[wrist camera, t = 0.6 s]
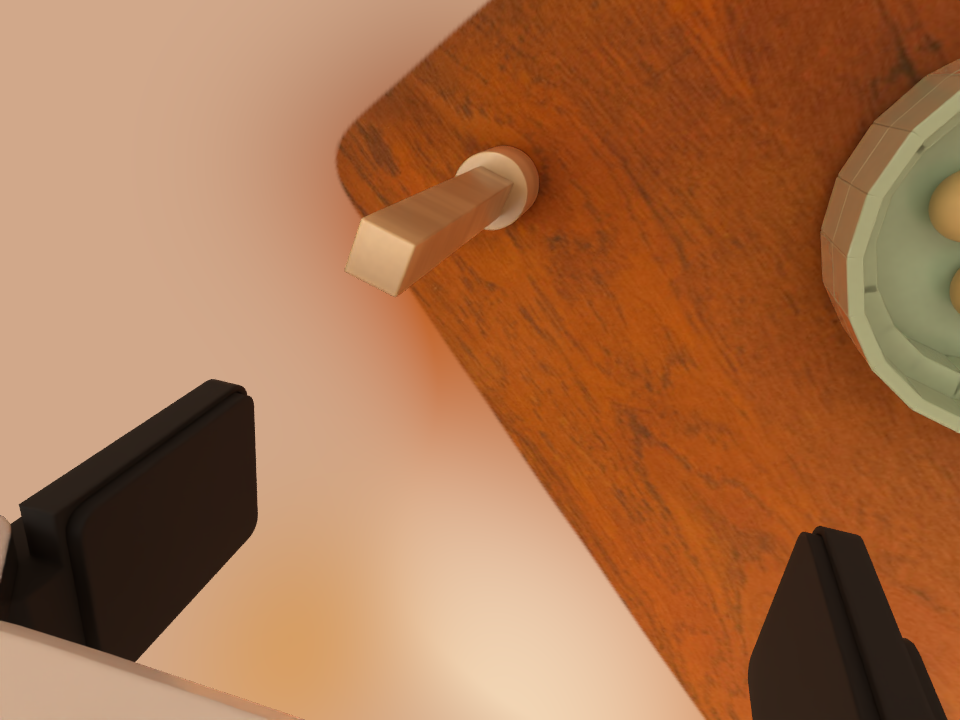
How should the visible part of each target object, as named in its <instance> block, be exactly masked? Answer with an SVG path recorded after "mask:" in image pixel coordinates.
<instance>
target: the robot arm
mask: <svg viewBox="0 0 960 720" xmlns="http://www.w3.org/2000/svg"><path fill="white" fill-rule="evenodd" d="M256 481H257V479H256V452H255V422H254V403H253V399H252V398H251V397H250V396H247V392H246V390H245V388H244V387H242V386H240V385H236V384H232V383H227V382H223V381H219V380H215V379H211V380H208V381H206V382H205V383H203V384H202V385H200V386H198V387H197V388H195V389H194V390H192V391H191V392H189V393H188V394H186V395H185V396H183V397H182V398H180V399H179V400H177V401H176V402H174V403H173V404H171V405H170V406H168V407H167V408H165V409H163V410H162V411H160V412H159V413H158V414H156V415H154V416H153V417H151V418H150V419H148V420H147V421H145V422H144V423H142V424H141V425H139V426H138V427H136V428H135V429H133V430H132V431H130V432H128V433H127V434H125V435H124V436H122V437H121V438H119V439H118V440H116V441H115V442H113V443H112V444H110V445H109V446H107V447H106V448H104V449H103V450H101V451H100V452H98V453H97V454H95V455H93V456H92V457H90V458H89V459H87V460H86V461H84V462H83V463H81V464H80V465H78V466H77V467H75V468H74V469H72V470H71V471H69V472H68V473H66V474H65V475H63V476H62V477H60V478H58V479H57V480H55V481H54V482H52V483H51V484H50V485H48V486H46V487H45V488H43V489H42V490H40V491H39V492H37V493H36V494H34V495H33V496H31V497H30V498H28V499H27V500H25V501H24V502H22V503H21V504H19V507H20V511H21V516H22V517H20V518H19V519H17V520H16V521H14V522H13V523H12V524H10V523H9V522H8V521H7V520H6V518H5V517H4V516H1V515H0V720H304V719H301V718H298V717H295V716H293V715H290V714H287V713H284V712H280V711H278V710H275V709H272V708H269V707H266V706H263V705H260V704H257V703H254V702H251V701H249V700H245V699H243V698H240V697H237V696H233V695H231V694H228V693H225V692H221V691H219V690H216V689H213V688H210V687H207V686H204V685H201V684H198V683H195V682H192V681H189V680H186V679H183V678H180V677H177V676H174V675H171V674H168V673H165V672H162V671H159V670H156V669H153V668H150V667H147V666H144V665H141V664H138V663H135V661H137V659H138V658H139V657H140V656H141V655H142V654H143V653H144V652H145V651H146V650H147V649H148V647H149V646H150V645H151V644H152V643H153V642H154V641H155V640H156V639H157V638H158V637H159V635H160V634H161V633H162V632H163V631H164V630H165V629H166V628H167V627H168V626H169V625H170V623H171V622H172V621H173V620H174V619H175V618H176V617H177V616H178V614H180V613H181V611H182V610H183V609H184V608H185V607H186V606H187V605H188V604H189V603H190V602H191V601H192V599H193V598H194V597H195V596H196V595H197V594H198V593H199V592H200V591H201V589H203V587H204V586H205V585H206V584H207V583H208V582H209V581H210V580H211V578H213V577H214V575H215V574H216V573H217V572H218V571H219V570H220V569H221V568H222V567H223V565H225V563H226V562H227V561H228V560H229V559H230V558H231V557H232V556H233V555H234V554H235V553H236V551H237V550H238V549H239V548H240V547H241V546H242V545H243V544H244V543H245V542H246V541H247V539H248V538H249V537H250V536H251V534H252V533H253V531H254V529H255V527H256V523H257V518H258V512H257V511H258V508H257V483H256ZM748 684H749V693H750V701H751V709H752V717H753V720H947V718H946V715H945V713H944V710H943V708H942V706H941V703H940V701H939V699H938V696H937V694H936V692H935V689H934V687H933V684H932V682H931V680H930V677H929V675H928V673H927V670H926V668H925V665H924V663H923V661H922V658H921V656H920V654H919V652H918V650H917V648H916V647H915V645H914V644H913V643H912V642H911V641H909V640H908V639H906V638H902V636H901V633H900V631H899V628H898V626H897V623H896V621H895V618H894V616H893V613H892V611H891V608H890V606H889V604H888V601H887V599H886V596H885V594H884V591H883V589H882V586H881V584H880V581H879V579H878V576H877V574H876V571H875V569H874V566H873V564H872V561H871V559H870V557H869V554H868V552H867V549H866V547H865V544H864V542H863V540H862V538H861V537H860V536H858V535H856V534H851V533H847V532H843V531H839V530H835V529H831V528H827V527H822V526H818V527H816V528H815V530H814V531H813V533H812V534H811V533H807V532H802V533H801V534H800V535H799V537H798V539H797V541H796V544H795V546H794V549H793V551H792V554H791V556H790V559H789V562H788V564H787V567H786V569H785V572H784V574H783V577H782V579H781V582H780V584H779V587H778V589H777V592H776V594H775V597H774V599H773V602H772V604H771V607H770V609H769V612H768V614H767V617H766V620H765V622H764V625H763V627H762V630H761V632H760V635H759V637H758V640H757V642H756V645H755V647H754V650H753V652H752V655H751V658H750V662H749V669H748Z"/></svg>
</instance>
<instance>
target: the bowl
mask: <svg viewBox="0 0 960 720" xmlns="http://www.w3.org/2000/svg"><path fill="white" fill-rule="evenodd" d="M957 171H960V59H958V60H956V61H954V62H952V63H950V64H948V65H946V66H944V67H942V68H940V69H938V70H936V71H934V72H932V73H930V74H928V76H925V77H924V78H923V79H922V80H921V81H919V82H918V83H917V84H916V85H915V86H914V87H913V88H911V89H910V90H909V91H908V92H907V93H906V94H904V95H903V96H902V97H901V98H900V99H899V100H898V101H896V102H895V103H894V104H893V105H892V106H891V107H890V108H888V109H887V110H886V111H885V112H884V113H883V114H882V115H880V116H879V117H878V118H877V119H876V120H875V121H874V122H873V124H872V125H871V126H870V127H869V129H868V130H867V132H866V133H865V135H864V136H863V138H862V139H861V141H860V142H859V144H858V145H857V147H856V148H855V150H854V151H853V153H852V154H851V156H850V157H849V159H848V160H847V162H846V163H845V165H844V166H843V168H842V169H841V171H840V172H839V174H838V177H837V178H836V181H835V184H834V187H833V191H832V194H831V197H830V201H829V204H828V207H827V211H826V214H825V217H824V221H823V224H822V227H821V232H820V237H821V258H822V279H823V284H824V286H825V289H826V291H827V293H828V295H829V298H830V300H831V302H832V304H833V307H834V309H835V311H836V314H837V316H838V318H839V320H840V323H841V325H842V327H843V328H844V330H845V331H846V333H847V334H848V336H849V337H850V339H851V340H852V341H853V343H854V344H855V346H856V347H857V349H858V350H859V352H860V353H861V355H862V356H863V358H864V359H865V361H866V362H867V364H868V365H869V367H870V368H871V370H872V371H873V372H874V373H875V374H876V375H877V376H878V377H879V378H880V379H881V380H882V381H883V382H884V383H885V384H886V385H887V386H888V387H889V388H890V389H891V390H892V391H893V392H894V393H895V394H896V395H897V396H898V397H899V398H900V399H901V400H902V401H903V402H904V403H905V404H906V405H907V406H908V407H909V408H910V409H912V410H913V411H915V412H917V413H919V414H921V415H923V416H925V417H927V418H929V419H931V420H933V421H935V422H937V423H939V424H941V425H943V426H945V427H947V428H949V429H951V430H953V431H955V432H957V433H959V434H960V314H959V313H958V312H957V311H956V310H955V308H954V307H953V305H952V302H951V299H950V294H949V291H950V284H951V281H952V279H953V277H954V275H955V273H956V272H957V271H958V270H959V269H960V242H956V241H953V240H950V239H948V238H946V237H944V236H943V235H941V234H940V233H939V232H938V231H937V230H936V229H935V228H934V226H933V225H932V223H931V221H930V218H929V212H928V209H929V202H930V199H931V196H932V194H933V192H934V191H935V189H936V188H937V186H938V185H939V184H940V183H941V182H942V181H943V180H944V179H946V178H947V177H948V176H950V175H952V174H953V173H955V172H957Z"/></svg>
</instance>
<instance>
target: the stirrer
mask: <svg viewBox="0 0 960 720" xmlns="http://www.w3.org/2000/svg"><path fill="white" fill-rule="evenodd" d="M538 190H539V176H538V172H537V169H536V167H535V165H534V163H533V161H532V160H531V159H530V157H529V156H528V155H527V154H525V153H524V152H523V151H521V150H519V149H517V148H515V147H511V146H497V147H493V148H490V149H488V150H485V151H482V152H480V153H477V154H475V155H473V156H471V157H469V158H468V159H467V160H466V161H464V162H463V164H462V165H461V166H460V167H459V169H458V171H457V173H456V175H455V177H454V178H452V179H449V180H447V181H445V182H443V183H440V184H438V185H436V186H433V187H431V188H429V189H427V190H424V191H422V192H420V193H418V194H415V195H413V196H411V197H409V198H406V199H404V200H402V201H400V202H397V203H395V204H393V205H391V206H388V207H386V208H384V209H382V210H379V211H377V212H375V213H373V214H370V215H368V216H366V217H364V218H362V219H361V221H360V225H359V228H358V230H357V233H356V236H355V240H354V243H353V246H352V249H351V252H350V255H349V258H348V261H347V264H346V267H345V272H346V273H348V274H351V275H352V276H354V277H356V278H358V279H360V280H362V281H364V282H366V283H368V284H370V285H372V286H374V287H376V288H378V289H380V290H381V291H383V292H385V293H388V294H389V295H391V296H393V297H397V296H398V295H400V294H401V293H402V292H404V291H405V290H406V289H407V288H409V287H410V286H411V285H413V284H414V283H415V282H416V281H418V280H419V279H420V278H422V277H423V276H424V275H425V274H427V273H428V272H429V271H431V270H432V269H433V268H434V267H436V266H437V265H438V264H439V263H441V262H442V261H443V260H445V259H446V258H447V257H448V256H450V255H451V254H452V253H454V252H455V251H456V250H457V249H459V248H460V247H461V246H463V245H464V244H465V243H466V242H468V241H469V240H470V239H472V238H473V237H474V236H475V235H477V234H478V233H479V232H480V231H482V230H483V229H485V230H499V229H502V228H505V227H507V226H509V225H511V224H512V223H513V222H515V221H516V220H517V219H518V218H519V217H520V216H522V215H523V214H524V213H525V212H526V211H527V210H528V209H529V208H530V207H531V206H532V205H533V203H534V201H535V199H536V197H537V195H538Z"/></svg>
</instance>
